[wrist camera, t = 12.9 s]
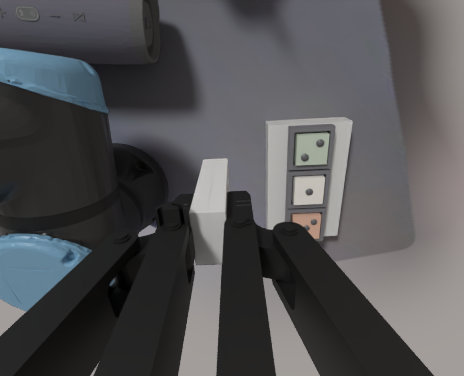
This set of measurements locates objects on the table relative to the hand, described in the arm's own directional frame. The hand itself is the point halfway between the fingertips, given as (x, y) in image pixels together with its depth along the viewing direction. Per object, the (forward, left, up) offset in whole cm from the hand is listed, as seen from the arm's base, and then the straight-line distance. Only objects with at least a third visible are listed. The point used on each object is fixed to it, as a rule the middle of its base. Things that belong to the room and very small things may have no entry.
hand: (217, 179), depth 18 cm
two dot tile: (+12, -6, -23) cm, 27 cm away
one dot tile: (+12, -12, -23) cm, 29 cm away
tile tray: (+12, -12, -26) cm, 31 cm away
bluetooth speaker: (-19, +12, -27) cm, 35 cm away
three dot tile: (+12, -19, -23) cm, 32 cm away
